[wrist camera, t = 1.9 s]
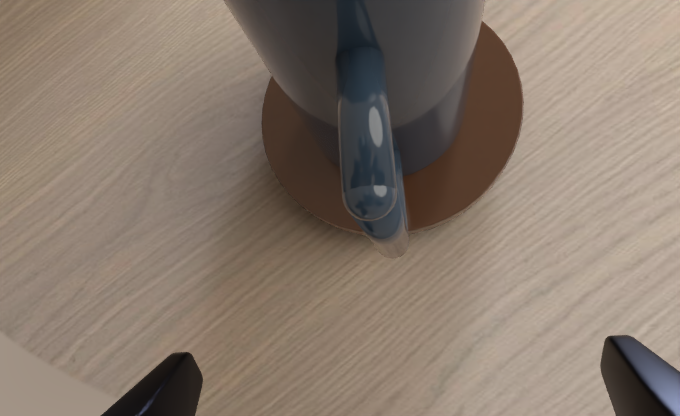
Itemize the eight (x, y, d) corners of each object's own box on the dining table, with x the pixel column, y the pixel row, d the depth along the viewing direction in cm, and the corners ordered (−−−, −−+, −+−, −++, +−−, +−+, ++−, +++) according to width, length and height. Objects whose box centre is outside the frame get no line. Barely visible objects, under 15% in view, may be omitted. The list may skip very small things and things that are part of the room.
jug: (266, 29, 27) (105, -257, 13) (498, -15, 24) (583, -420, 11) (269, 279, 23) (41, 226, 9) (548, 258, 20) (783, 143, 7)
